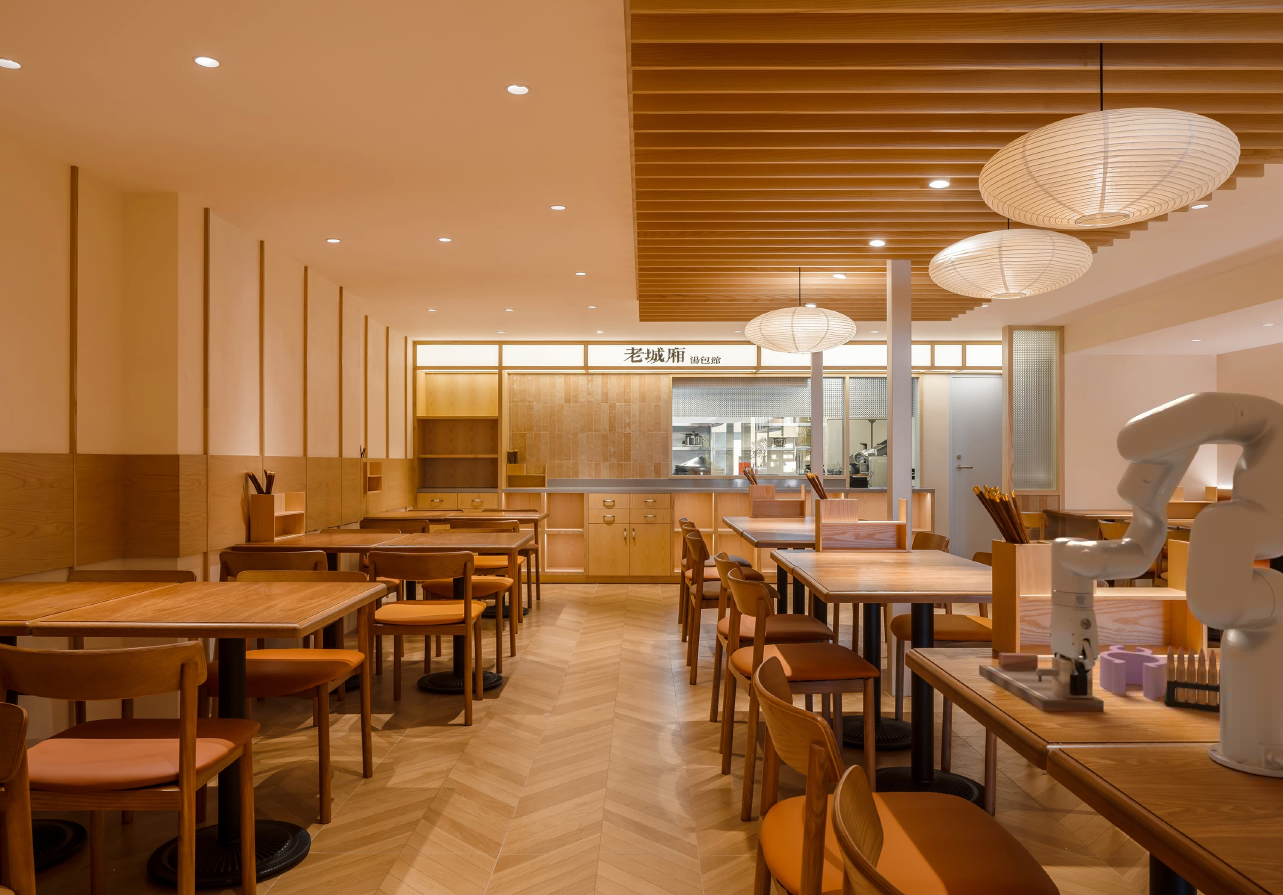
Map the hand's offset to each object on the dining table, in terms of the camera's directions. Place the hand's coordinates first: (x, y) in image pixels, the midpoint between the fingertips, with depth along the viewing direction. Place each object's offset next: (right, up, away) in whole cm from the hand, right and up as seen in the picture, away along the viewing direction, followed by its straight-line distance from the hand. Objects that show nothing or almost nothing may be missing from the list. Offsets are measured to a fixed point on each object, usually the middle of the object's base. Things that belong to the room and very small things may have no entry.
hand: (1071, 690), depth 164 cm
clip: (+21, -4, +15) cm, 26 cm away
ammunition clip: (+24, -3, -1) cm, 24 cm away
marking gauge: (-2, -1, 0) cm, 2 cm away
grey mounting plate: (-2, -3, +10) cm, 11 cm away
